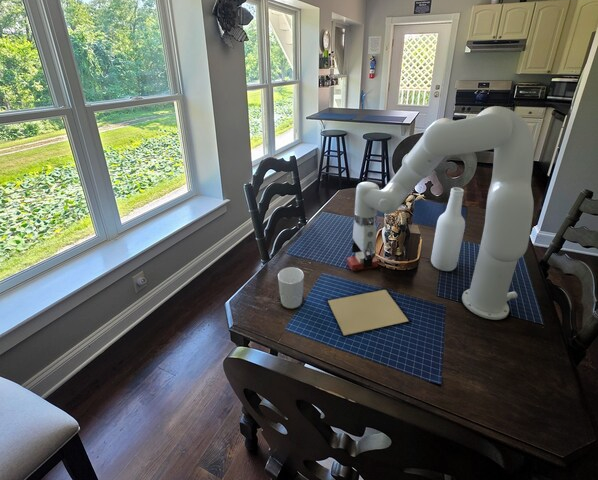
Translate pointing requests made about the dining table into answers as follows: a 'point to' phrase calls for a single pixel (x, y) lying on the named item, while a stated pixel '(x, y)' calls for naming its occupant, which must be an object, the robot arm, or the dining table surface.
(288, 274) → the white cup
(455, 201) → the alcohol
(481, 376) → the dining table surface
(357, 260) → the toy car
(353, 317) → the mat
